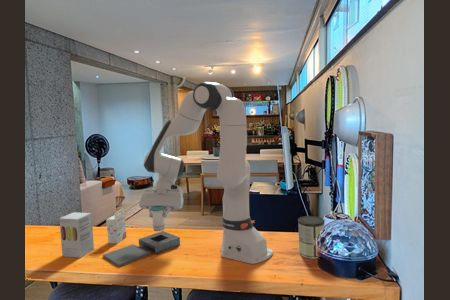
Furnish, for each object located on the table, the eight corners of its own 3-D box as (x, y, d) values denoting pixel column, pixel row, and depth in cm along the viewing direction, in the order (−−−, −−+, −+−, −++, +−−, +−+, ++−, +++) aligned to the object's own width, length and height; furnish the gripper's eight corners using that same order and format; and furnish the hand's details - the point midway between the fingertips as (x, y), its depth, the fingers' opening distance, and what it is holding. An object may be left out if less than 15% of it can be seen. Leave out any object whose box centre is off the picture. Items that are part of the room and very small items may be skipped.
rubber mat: (150, 254, 130) (150, 252, 130) (119, 267, 120) (119, 264, 120) (133, 246, 140) (133, 244, 140) (103, 257, 130) (102, 254, 130)
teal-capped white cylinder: (167, 228, 139) (166, 207, 138) (157, 232, 135) (155, 209, 134) (160, 226, 143) (159, 205, 142) (150, 229, 139) (149, 207, 138)
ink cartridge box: (117, 236, 153) (115, 207, 152) (126, 237, 152) (124, 207, 151) (107, 243, 145) (105, 212, 143) (117, 244, 144) (115, 213, 142)
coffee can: (303, 246, 133) (302, 214, 132) (327, 251, 127) (327, 217, 126) (294, 255, 124) (294, 221, 123) (320, 261, 119) (320, 225, 117)
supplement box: (61, 256, 132) (58, 218, 131) (76, 247, 141) (73, 211, 140) (81, 258, 130) (77, 218, 128) (95, 248, 139) (91, 212, 137)
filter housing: (180, 244, 140) (179, 237, 139) (155, 254, 131) (154, 246, 130) (163, 238, 149) (162, 230, 148) (139, 246, 140) (138, 239, 139)
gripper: (141, 186, 146) (133, 213, 137) (182, 186, 142) (177, 213, 133) (146, 193, 151) (138, 219, 142) (186, 193, 147) (181, 220, 138)
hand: (157, 216), depth 138 cm, fingers closed on teal-capped white cylinder, 5 cm apart
